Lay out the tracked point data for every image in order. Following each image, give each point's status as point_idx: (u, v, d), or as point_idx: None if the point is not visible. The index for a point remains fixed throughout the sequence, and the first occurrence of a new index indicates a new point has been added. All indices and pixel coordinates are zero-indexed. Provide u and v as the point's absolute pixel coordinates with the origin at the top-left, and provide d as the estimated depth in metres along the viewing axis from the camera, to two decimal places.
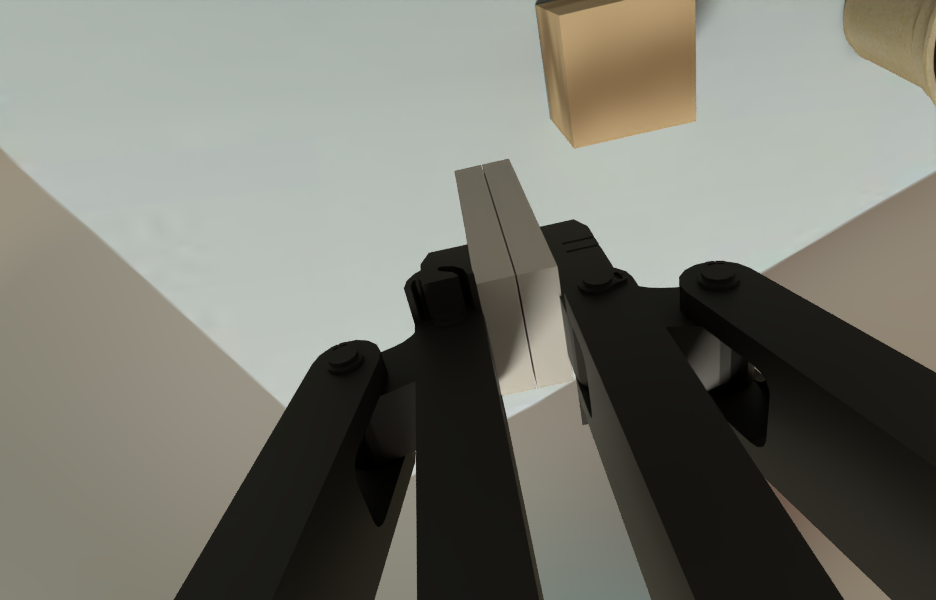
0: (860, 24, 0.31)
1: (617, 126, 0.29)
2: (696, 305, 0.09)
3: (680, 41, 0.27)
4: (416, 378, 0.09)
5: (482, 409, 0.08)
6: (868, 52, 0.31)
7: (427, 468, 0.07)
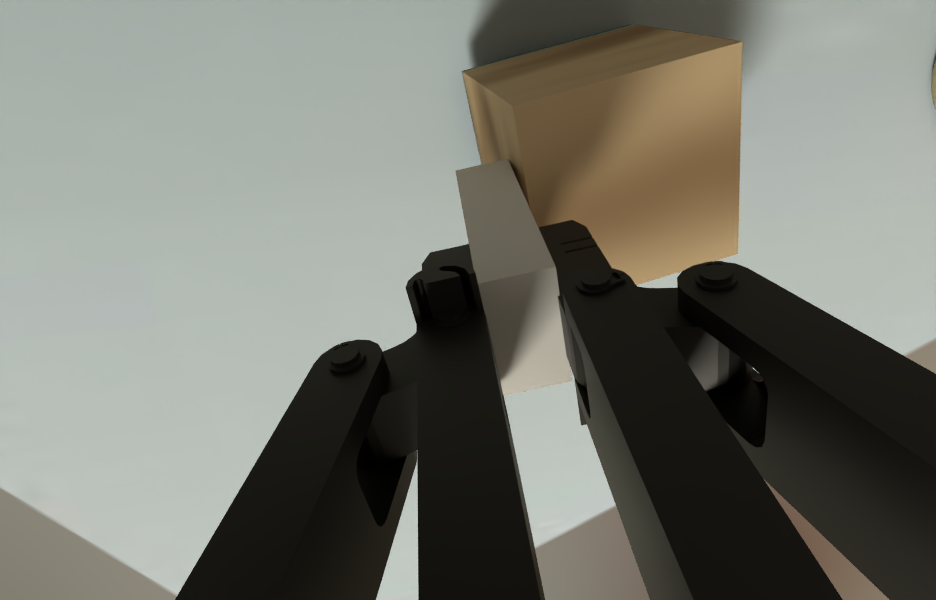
0: None
1: None
2: (694, 306, 0.09)
3: (717, 136, 0.16)
4: (417, 378, 0.09)
5: (484, 408, 0.08)
6: None
7: (428, 467, 0.07)
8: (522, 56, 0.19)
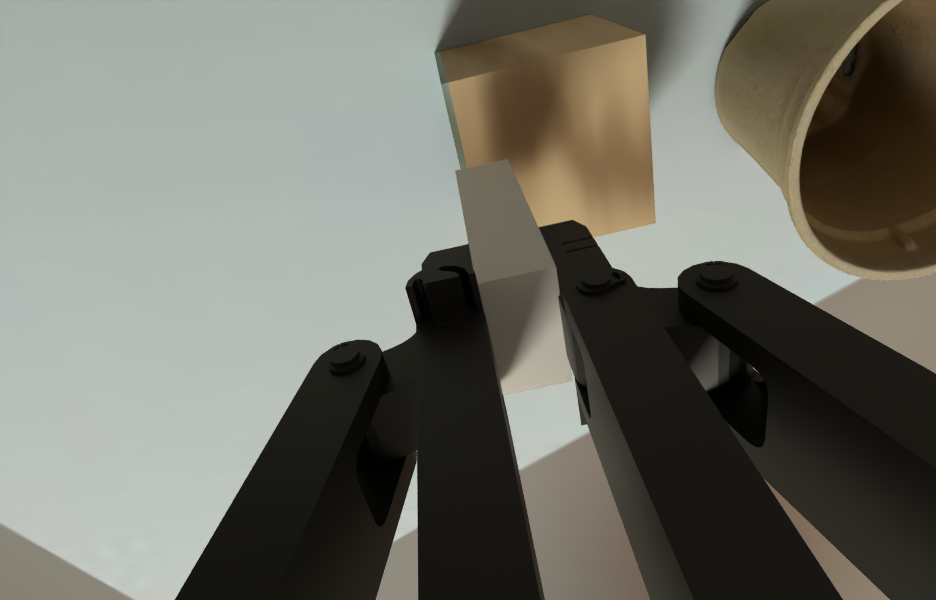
0: (730, 112, 0.22)
1: None
2: (694, 305, 0.09)
3: None
4: (417, 378, 0.09)
5: (484, 408, 0.08)
6: (744, 148, 0.23)
7: (428, 468, 0.07)
8: (449, 69, 0.19)
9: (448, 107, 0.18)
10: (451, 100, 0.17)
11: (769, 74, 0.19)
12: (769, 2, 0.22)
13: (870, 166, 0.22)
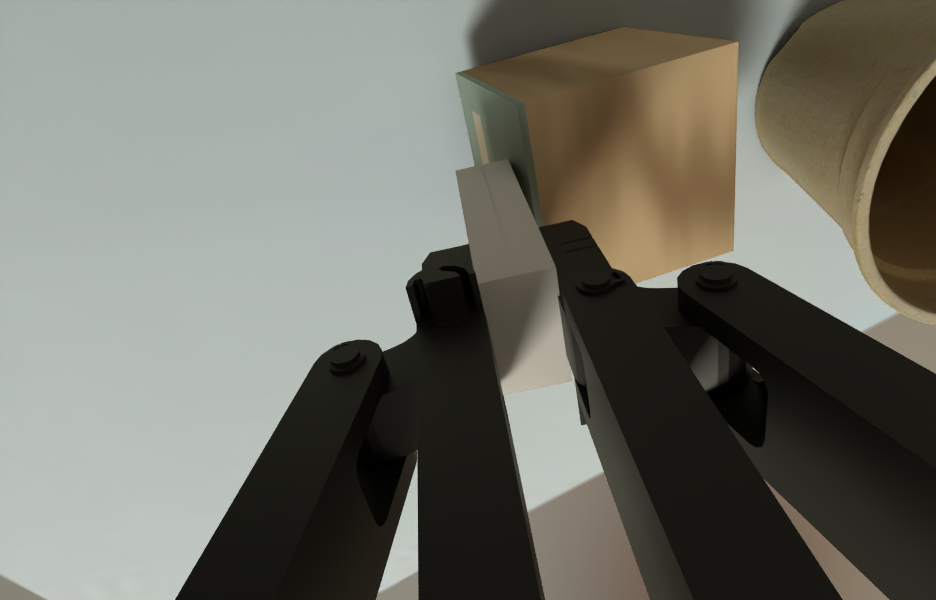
0: (774, 134, 0.20)
1: None
2: (694, 305, 0.09)
3: None
4: (417, 378, 0.09)
5: (484, 408, 0.08)
6: (789, 174, 0.21)
7: (428, 467, 0.07)
8: (504, 88, 0.16)
9: (523, 132, 0.15)
10: (527, 124, 0.14)
11: (827, 95, 0.17)
12: (819, 14, 0.20)
13: (929, 194, 0.20)
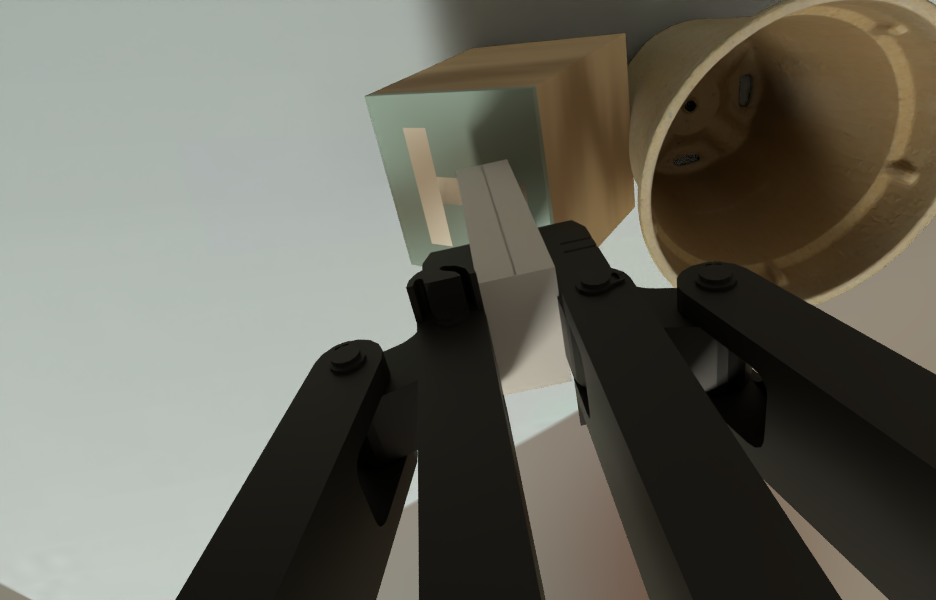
0: None
1: None
2: (693, 306, 0.09)
3: None
4: (418, 377, 0.09)
5: (484, 408, 0.08)
6: None
7: (429, 467, 0.07)
8: (475, 87, 0.16)
9: (537, 114, 0.15)
10: (538, 106, 0.15)
11: (640, 110, 0.19)
12: (657, 35, 0.22)
13: (759, 198, 0.22)
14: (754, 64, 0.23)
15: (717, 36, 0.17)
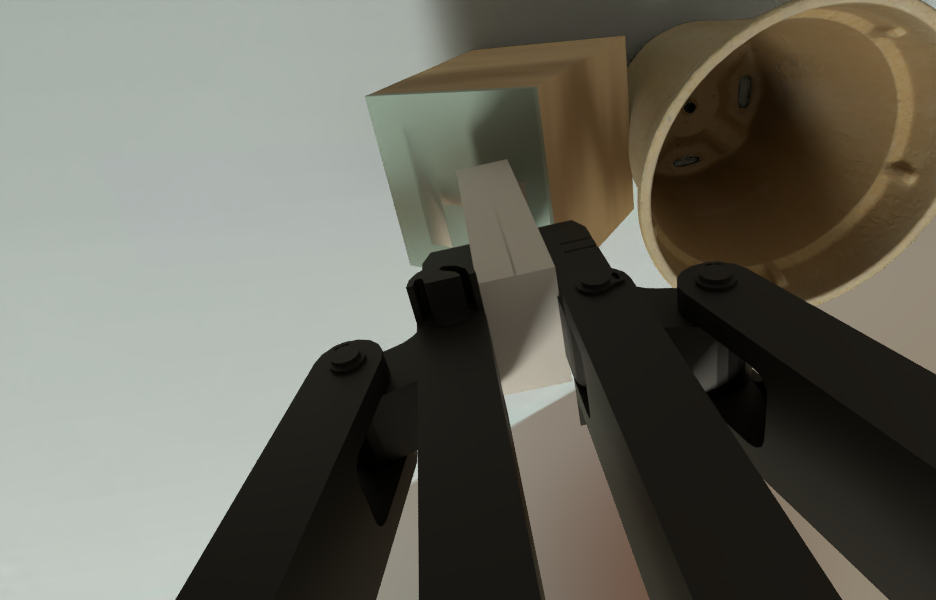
0: None
1: None
2: (694, 306, 0.09)
3: None
4: (418, 377, 0.09)
5: (484, 408, 0.08)
6: None
7: (429, 467, 0.07)
8: (476, 87, 0.16)
9: (538, 115, 0.15)
10: (539, 106, 0.15)
11: (640, 113, 0.19)
12: (656, 38, 0.22)
13: (759, 199, 0.23)
14: (753, 66, 0.23)
15: (716, 39, 0.17)
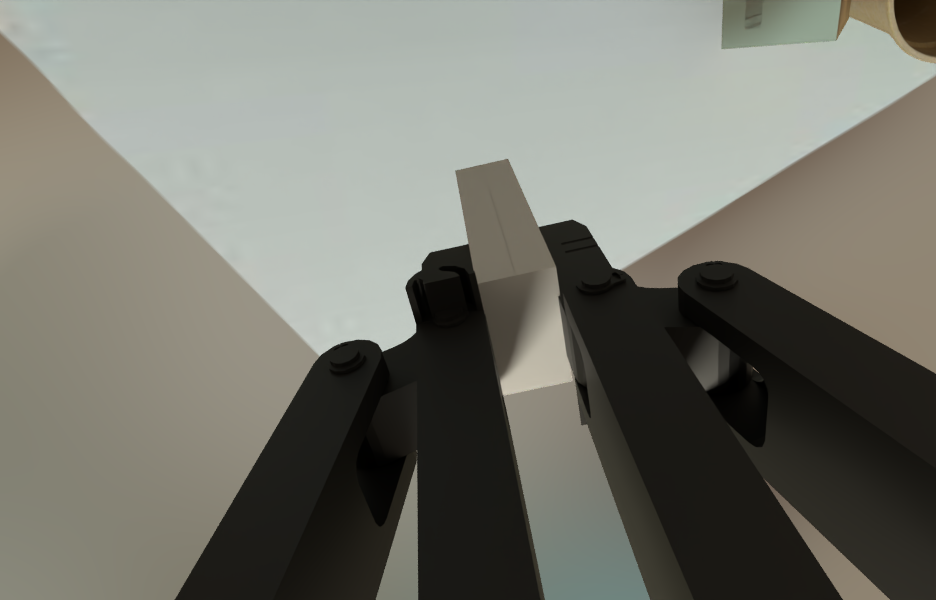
0: None
1: None
2: (694, 305, 0.09)
3: None
4: (417, 378, 0.09)
5: (484, 409, 0.08)
6: None
7: (428, 468, 0.07)
8: None
9: None
10: None
11: None
12: None
13: (923, 16, 0.37)
14: None
15: None
